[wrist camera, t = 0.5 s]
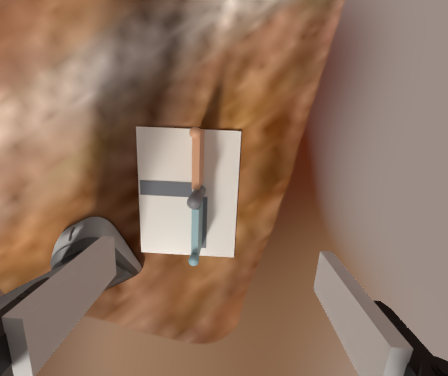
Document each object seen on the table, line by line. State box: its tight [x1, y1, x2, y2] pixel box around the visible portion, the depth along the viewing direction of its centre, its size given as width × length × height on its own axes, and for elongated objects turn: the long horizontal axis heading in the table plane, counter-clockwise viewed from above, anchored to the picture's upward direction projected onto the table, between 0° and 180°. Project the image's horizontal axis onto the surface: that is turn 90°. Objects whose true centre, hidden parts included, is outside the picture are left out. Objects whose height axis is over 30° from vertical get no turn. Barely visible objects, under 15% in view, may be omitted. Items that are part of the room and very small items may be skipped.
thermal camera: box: [0, 217, 142, 376], centre depth 23 cm, size 12×13×35 cm
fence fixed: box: [187, 185, 206, 266], centre depth 35 cm, size 11×2×7 cm, turn 178°
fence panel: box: [189, 127, 205, 189], centre depth 32 cm, size 8×1×6 cm, turn 177°
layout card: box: [136, 126, 241, 257], centre depth 37 cm, size 21×16×1 cm
